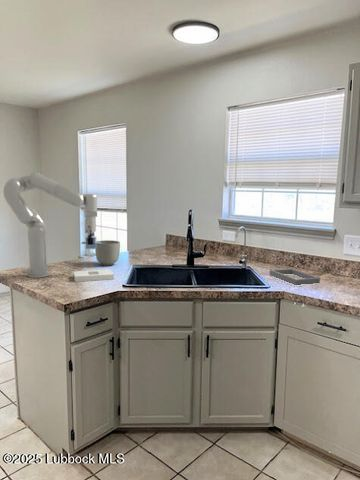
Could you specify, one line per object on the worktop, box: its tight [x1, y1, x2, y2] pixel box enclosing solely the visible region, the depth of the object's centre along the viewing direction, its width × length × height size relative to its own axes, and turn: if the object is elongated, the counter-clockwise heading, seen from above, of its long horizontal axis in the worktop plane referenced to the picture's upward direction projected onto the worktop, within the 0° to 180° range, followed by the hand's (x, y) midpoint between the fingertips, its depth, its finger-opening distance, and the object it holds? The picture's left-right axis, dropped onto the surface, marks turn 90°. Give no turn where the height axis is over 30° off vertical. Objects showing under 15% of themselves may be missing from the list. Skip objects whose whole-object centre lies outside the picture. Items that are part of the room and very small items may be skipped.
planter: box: [94, 239, 121, 267], centre depth 254 cm, size 17×17×16 cm
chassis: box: [73, 269, 115, 283], centre depth 218 cm, size 22×13×3 cm, turn 110°
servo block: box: [81, 235, 101, 250], centre depth 225 cm, size 11×4×7 cm, turn 92°
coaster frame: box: [269, 268, 321, 285], centre depth 225 cm, size 17×26×4 cm, turn 20°
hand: (91, 243), depth 225 cm, fingers closed on servo block, 4 cm apart
